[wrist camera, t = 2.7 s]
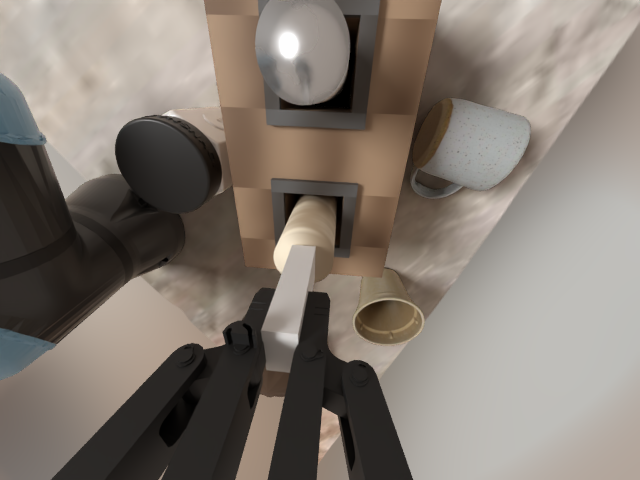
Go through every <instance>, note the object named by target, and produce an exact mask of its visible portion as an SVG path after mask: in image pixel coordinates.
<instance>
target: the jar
mask: <svg viewBox="0 0 640 480" xmlns="http://www.w3.org/2000/svg"><path fill="white" fill-rule="evenodd" d="M115 155H116V160H117V164H118V167H119V169H120V172H121V174H122V176H123V178H124V179H125V181H126V182H127V184H128V185H129V186H130V188H131V189H132V190H133V191H134V192H135V193H136V194H137V195H138V196H139V197H140V198H142V199H143V200H144V201H145V202H147V203H148V204H150V205H152V206H153V207H155V208H158V209H160V210H162V211H166V212H170V213H176V214H182V213H189V212H192V211H194V210H196V209H198V208H199V207H201V206H202V205H203V204H205V203H206V202H207V201H209V200H210V199H211V198H212V197H214V196H216V195H218V194H220V193H222V192H224V191H225V190H227V189H228V188H229V187H231V186H232V185H233V184H232V177H231V171H230V164H229V158H228V151H227V145H226V139H225V132H224V126H223V119H222V113H221V108H220V107H207V108H192V109H177V110H170V111H168V112H166V113H165V114H163V115H153V116H145V117H141V118H138V119H134V120H132V121H130V122H128V123H127V124H126V125H124V126H123V128H122V129H121V130H120V132H119V134H118V136H117V139H116V144H115Z"/></svg>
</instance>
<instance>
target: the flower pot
mask: <svg viewBox="0 0 640 480" xmlns="http://www.w3.org/2000/svg"><path fill="white" fill-rule="evenodd" d="M424 323H425V319H424V315H423V313H422V311H421V310H420V308H419V307H418V306H417V305H415V304H414V302H413V301H412V300H411V299H410V297H409V295H408V293H407V292H406V290H405V288H404V286H403V284H402V282H401V280H400V278H399V276H398V274H397V273H396V272H395V271H393V270H391V269H385V268H384V270H383V275H382V278H376V277H364V276H363V278H362V280H361V289H360V297H359V305H358V307H357V310H356V312H355V314H354V316H353V321H352V324H353V329H354V331H355V332H356V334H357V335H358V336H359V337H361V338H362V339H363V340H365V341H367V342H369V343H372V344H376V345H381V346H394V345H400V344H403V343H406V342H408V341H410V340H412V339H414V338H415V337H416V336H418V335H419V334H420V333H421V331H422V330H423V327H424Z"/></svg>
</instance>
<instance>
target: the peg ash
mask: <svg viewBox="0 0 640 480" xmlns="http://www.w3.org/2000/svg"><path fill="white" fill-rule="evenodd" d="M337 201H338V199H337V196H327V195H312V194H300V196H299V198H298V200H297V202H296V204H295V207H294V209H293V211H292V213H291V215H290V217H289V220H288V222H287V224H286V226H285V228H284V230H283V233H282V235H281V237H280V239H279V241H278V243H277V246H276V248H275V250H274V263H275V266H276V268H277V269H278V271H279V272H280V273H281V274H282V271H283V269H284V266H285V263H286V260H287V258H288V255H289V252H290V249H291V247H292V245H303V246H316V252H315V281H314V283H315V282H318V281H321V280H322V279H324V278H325V277H326V276H327V275H328V274H329V273H330V272H331V270H332V267H333V259H334V245H335V230H336V216H337Z"/></svg>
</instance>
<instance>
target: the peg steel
mask: <svg viewBox="0 0 640 480" xmlns="http://www.w3.org/2000/svg"><path fill="white" fill-rule="evenodd" d="M255 50H256V57H257V62H258V65H259V68H260V71H261V73H262V76H263V78H264V79H265V81H266V83H267V84H268V86H269V87H270V88H271V89H272V90H273V92H274V93H275V94H277V95H278V96H279V97H280V98H282V99H284V100H285V101H287V102H290V103H292V104H296V105H311V104H317V103H322V102H327V101H330V100H332V99H334V98H335V97H337V96H338V95H339V94H340V93H341V91H342V90H343V88H344V86H345V83H346V79H347V73H348V64H349V55H350V38H349V31H348V27H347V23H346V20H345V18H344V16H343V13H342V11H341V10H340V8H339V6H338V5H337V3H336V2H335V1H334V0H269V2H268V3H267V4H266V6H265V7H264V9H263V11H262V13H261V16H260V18H259V21H258V25H257V29H256V37H255Z"/></svg>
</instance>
